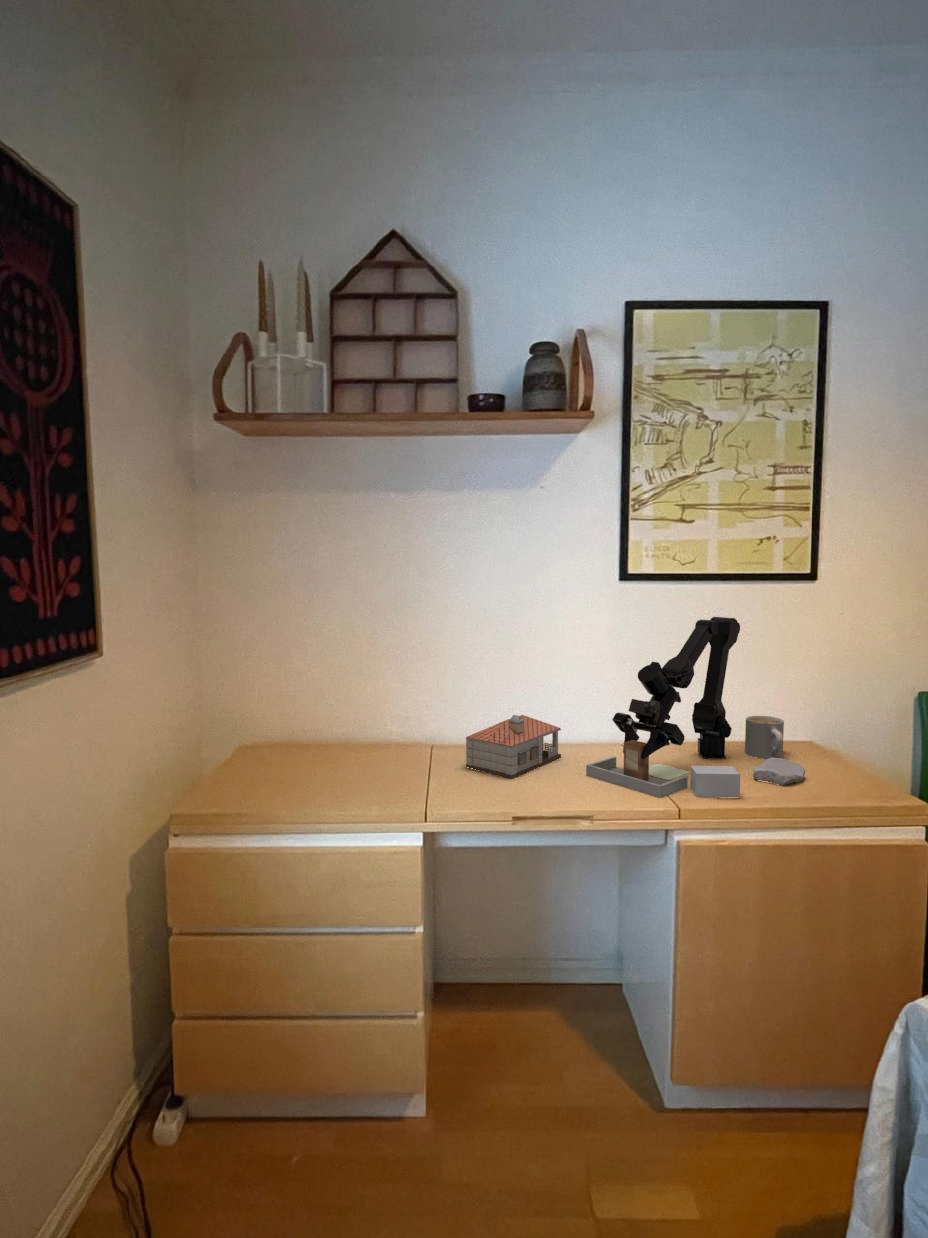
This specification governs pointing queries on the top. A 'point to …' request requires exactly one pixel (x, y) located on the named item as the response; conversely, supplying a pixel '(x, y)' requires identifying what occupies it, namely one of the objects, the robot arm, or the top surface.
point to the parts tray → (634, 779)
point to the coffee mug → (764, 737)
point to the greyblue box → (715, 781)
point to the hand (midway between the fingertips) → (632, 756)
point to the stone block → (779, 771)
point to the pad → (665, 772)
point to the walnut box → (635, 760)
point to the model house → (512, 747)
